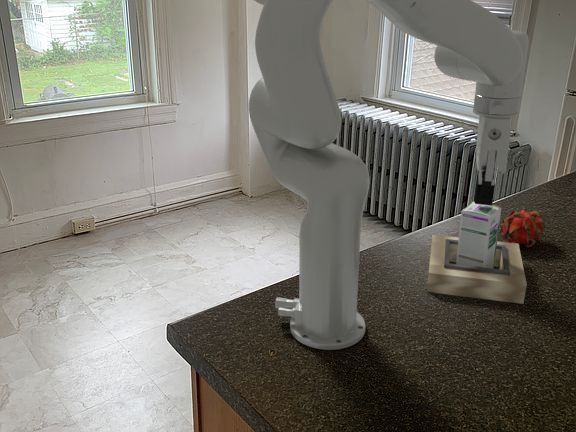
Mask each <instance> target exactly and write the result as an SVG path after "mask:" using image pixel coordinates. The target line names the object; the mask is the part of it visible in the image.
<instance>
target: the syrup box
mask: <svg viewBox="0 0 576 432" xmlns="http://www.w3.org/2000/svg"><path fill="white" fill-rule="evenodd" d="M501 214H502V207H501V206H498V205H495V204H492V205H481V204H475V203H474V201H472V202H471V203H470V204H469V205H467V206H466V207H465V208H463V209H461V212H460V222H459V232H458V237H459V240H458V250H457V260H456V262H455V264H457V265H466V266H475V267H483V268H492V269H495V267H494V262H495V254H496V246H497V242H498V238H499V237H498V236H499V232H500V222H501Z"/></svg>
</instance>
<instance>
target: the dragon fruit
mask: <svg viewBox="0 0 576 432" xmlns="http://www.w3.org/2000/svg"><path fill="white" fill-rule="evenodd" d="M545 223H546V222H545V218H544V217H543V216H542V215H541V213H540V212H539V211H537V210H532V211H529V210H528V209H527V208H525V207H523V208H522V210H521V211H517V210H512V211H511V212H510V213H509V214H508V215H507V216H506V217H505V218H504V219H502V223H501V227H500V228H499V233H501V237H502V238H503V240H506V242H507V243H517V244H519V245H521V244H522V245H524V247H525V248H527V249H528V248H531V247H533V246H534V245H535V243H536V242H537V241H536V240H539V241H540V240H544V239H545V237H546V235H545V234H544V232H543V231H545V230H546V229H547V226H546V224H545Z"/></svg>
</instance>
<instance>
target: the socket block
mask: <svg viewBox="0 0 576 432" xmlns="http://www.w3.org/2000/svg"><path fill="white" fill-rule="evenodd" d="M431 237H432V238H431V247H430V256H429V265H428V266H429V267H428V275H427V286H426V292H427V293H432V294H433V293H434V294H442V295H451V296H457V297H458V296H459V297H464V298H465V297H466V298H474V299H481V300H488V301H489V300H490V301H495V302H496V301H498V302H505V303H512V304H513V303H515V304H521V305H523V304H524V301H525V297H526V290H527V285H528V283H527V280H526V274H525V270H524V264H523V260H522V255H521V250H520V244H517V243H507V241H506V242H505V241H497V246H496V254H495V262H494V269H492V268H483V267H475V266H466V265H457V264H456V260H457V250H458V240H459V236H458V237H457V236H448V235H439V234H432V236H431ZM450 262H451V263H450ZM495 267H496V268H495Z"/></svg>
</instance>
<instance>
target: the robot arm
mask: <svg viewBox="0 0 576 432" xmlns="http://www.w3.org/2000/svg"><path fill="white" fill-rule="evenodd" d="M253 1H254V2H256V3H258V4H260V5H262V8H261V9H262V10H261V13H260V15H259V19H258V21H257V27H256V30H255V31H256V32H255V37H254V39H255V40H254V46H255V47H254V48H255V54H256V61H257V63H258V67H259V69H260V73H261V76H262V77H261V78H259V80H258V81H257V82H256V83H255V85H254V86H253V88H252V89H251V92H250V95H249V99H248V115H249V119H250V123H251V125H252V128H253V130H254V133H255V134H256V138H257V140H258V143H259V145H260V147H261V149H262V152H263V154H264V157H265V159H266V161H267V163H268V165H269V166H268V167H269V168H270V170H271V172H272V174H273V176H274V178H275V179H276V180H277V181H278V183H280V185H282V186H283V187H284V188H285V189H287V190H289V191H291V192H293V193H294V194H296V195H297V196H299V197H300V198H302V199H303V200H305V201H306V202H307V208H306V212H305V214H304V216H303V219H302V220H301V223H300V228H299V235H298V236H299V238H298V240H299V243H298V246H299V252H298V253H299V256H298V257H299V263H298V264H299V265H298V266H299V267H298V268H299V272H298V275H299V276H298V277H299V281H298V282H299V283H298V284H299V287H298V289H299V293H298V295H299V296H298V297H299V298H298V297H297V298H296V297H294V299H292V298H291V299H290V298H285V297H279V296H276V298H275V302H274V307H275V309H278V310H277V315H278V316H279V317H280V316H281V317H291V318H290V322H289V327H290V333H291V334H292V337H293V338H294V339H296V340H297V342H299V343H300V344H302V345H305V346H307V347H310V348H313V349H318V350H324V351H332V350H333V351H334V350H336V351H337V350H342V349H345V348H348V347H351V346H354V345H355V344H358V342H360V341H361V340H362V339H363V337H364V336H365V333H366V322H365V319H364V317H363V316H362V315H361V313H359V312H358V311H357V309H358V292H359V291H358V290H359V289H358V288H359V268H360V249H361V248H360V247H361V231H362V230H361V229H362V223H363V222H362V221H363V220H362V219H363V213H364V209H365V205H366V201H367V197H368V195H369V191H370V190H369V189H370V181H371V179H370V173H369V170H368V167H367V165H366V164H365V162H364V161H363V159H361V158H360V157H359V156H358V155H357V154H355V153H354V152H353V151H351V150H349V149H347V148H345V147H342V146H340V145H337V144H336V143H334V142H335V140H336V139H337V138H338V136H339V134H340V131H341V127H342V116H341V109H340V106H339V102H338V100H337V97H336V94H335V90H334V88H333V83H332V81H331V78H330V75H329V72H328V69H327V66H326V63H325V59H324V56H323V52H322V48H321V47H322V46H321V40H320V39H321V37H320V36H321V31H322V24H323V22H324V19H325V17H326V14H327V12H328V9H329V8H330V6H331V4H332V2H333V0H253ZM366 1H367V2H368V3H369V4H370V5H372V6H373V7H374V8H375V9H376V10H377V11H379V12H380V14H382V15H383V16H384V17H385V18H386V19H387V20H388V21H390V22H391V23H392V24H393V26H395V27H396V28H397V29H398V30H399V31H401V32H402V33H404V34H406V35H409V37H413V38H415V39H417V40H420V41H423V42H425V43H429V44H432V45H435V46H436V47H435V49H434V57H433V59H434V63H435V66H436V67H437V69H438V70H439V71H440V72H441V73H442V74H444V75H445V76H448V77H449V78H453V79H459V80H462V81H463V80H464V81H468V82H469V81H471V82H475V83H476V84H475V91H474V92H475V93H474V99H473V108H472V113H473V114H474V115H476V116H479V117H478V124H477V125H478V126H477V127H478V128H477V134H476V135H477V136H476V147H475V148H476V151H475V158H476V159H475V161H476V170H477V171H478V176H477V180H476V182H475V183H476V184H475V188H474V189H475V191H474V197H473V199H474V203H475V204H481V205H494V204H493V203H494V197H495V196H494V195H495V190H496V189H495V188H496V178H497V177H496V176H497V170H498V172H499V173H501V174H502V175H504V174H505V173H506V172H507V167H508V156H509V149H510V142H511V132H512V118H516V117H518V116H519V113H520V112H519V111H520V104H521V98H522V91H523V85H524V84H523V83H524V79H525V78H524V77H525V72H526V66H527V59H528V53H529V52H528V51H529V44H530V43H529V42H530V40H529V39H530V38H529V36H528V34H527V33H526V32H524V31H520V30H516V29H515V30H514V29H510V28H509V27H508V26H507V24H506V23H505V22H504V21H503V20H502V19H500V18H499V17H498V16H497V15H496V14H494V13H493V12H491V11H490V10H488V8H486V7H484V6H482V5H481V4H479V3H477V2H475V1H473V0H366Z"/></svg>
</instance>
